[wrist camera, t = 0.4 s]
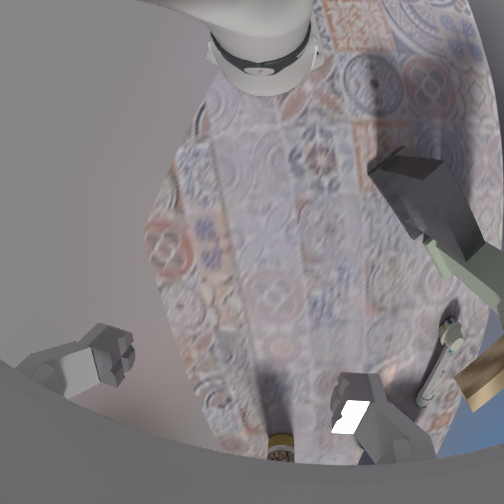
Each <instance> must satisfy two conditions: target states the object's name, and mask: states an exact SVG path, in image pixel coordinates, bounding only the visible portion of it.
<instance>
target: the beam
mask: <svg viewBox="0 0 504 504" xmlns="http://www.w3.org/2000/svg"><path fill="white" fill-rule="evenodd" d="M454 379H455V381H456V383H457V385H458V387H459V389H460V391H461V393H462V394H463V396H464V398H465V400H466V401H467V403H468V405H469V407H470V409H471V410H472V412H474V411H476V410H477V409H478V408H479V407H481V406H482V405H483V404H485V403H486V402H487V401H488V400H490V398H492V397H493V396H494V395H496V394H497V393H498V392H499V391H500V390H502V389H503V388H504V335H503V336H502V337H501V338H500V339H498V340H497V341H496V342H495V343H494V344H493V345H492V346H491V347H490V348H489V349H487V351H485V352H484V353H483V354H482V355H481V356H479V358H477V359H476V360H475V361H474V362H472V363H471V364H470V365H469V366H467V367H466V368H465V369H464V370H462V371H461V372H460V373H459V374H457V375H456V376H455V377H454Z"/></svg>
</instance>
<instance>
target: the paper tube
mask: <svg viewBox="0 0 504 504" xmlns="http://www.w3.org/2000/svg"><path fill="white" fill-rule="evenodd" d="M267 460H273V461H282V462H291V463H294V439H293V438H292V437H291V436H290V435H287V434H276V435H273V436H272V437H271V438H270V439H269V442H268V457H267Z"/></svg>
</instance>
